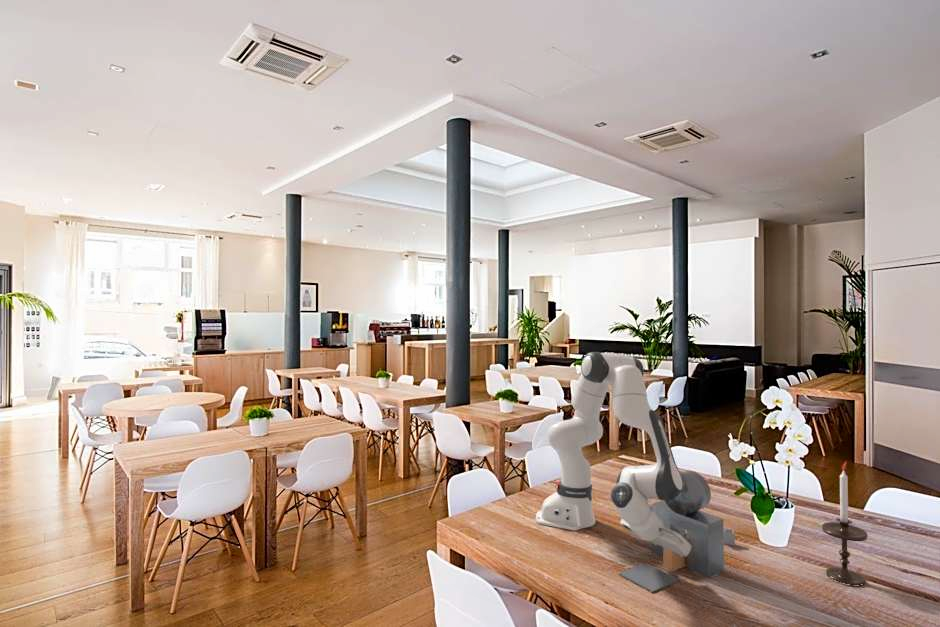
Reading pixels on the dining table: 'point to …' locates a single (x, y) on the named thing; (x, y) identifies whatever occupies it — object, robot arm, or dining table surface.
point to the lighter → (729, 536)
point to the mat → (648, 577)
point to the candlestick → (844, 537)
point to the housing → (694, 525)
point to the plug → (673, 559)
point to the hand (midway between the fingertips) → (668, 548)
